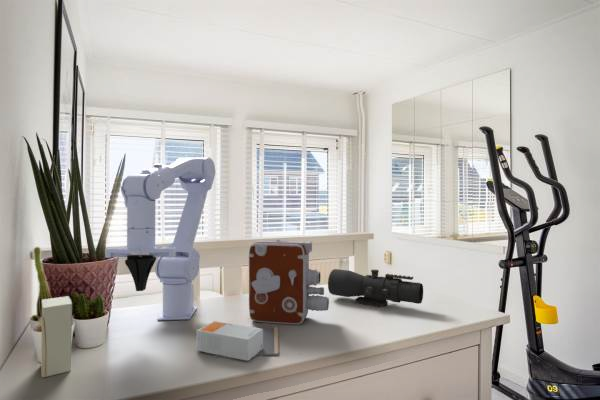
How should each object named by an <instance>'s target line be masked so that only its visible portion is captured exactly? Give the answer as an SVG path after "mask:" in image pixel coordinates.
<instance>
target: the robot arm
mask: <svg viewBox="0 0 600 400" xmlns="http://www.w3.org/2000/svg"><path fill="white" fill-rule="evenodd" d="M215 176H216V166H215V162H214V161H213V159H212V158H211V157H209V156H206V157H185V158H184V157H179V158H176V159H175V161H174V162H172V163H171V164H169V165H166V164H163V163H154V164H153V167H152V168H150V169H147V168H146V169H143V170H142V171H141V172H140V173H138V174H137V173H135V174H133V173H132V174H129V175H128V176H126V177H125V178H124V179H123V181H122V185H121V186H120V191H121V194H122V196H123V199H124V206H125V208H126V213H127V214H126V247H108V248H105V249H104V258H107V259H109V258H126V259H125V260H124V264H125V266H126V267H127V269H128V270H129V272H130V274H131V277H132V279H133V283H134V286H135V287H134V288H135V292H144V291H145V290H147V283H148V281H149V276H150V274H151V271H152V268H153V266H154V271H155V276H156V277H157V278H158V279H159V282H160V283H162V313H161V314H160V315H159V316H158V317H157V321H172V320H173V321H174V320H176V321H177V320H190V319H191V318H192V316H193V315H194V313H195V312H196V311H197V309H198V306H195V305H194V300H195V299H194V294H195V293H194V284H193V281H194V280H195V279H196V278H197V276H198V274H199V271H200V259H201V258H200V257H201V256H200V253H199V252H198V250H196V248H195V247H193V246H194V244H195V239H196V236H197V232H198V229H199V227H200V226H199V224H200V221H201V218H202V213H203V211H204V207H205V204H206V203H205V202H206V199H207V195H208V192H209V191H210V190H212V186H213V184H214V181H215ZM176 179H178V180H179V182H180V183H179V184H180V185H181V188H182V190H184V191H186V192H187V196H186V199H185V202H184V203H185V204H184V206H183V209H182V213H181V215H180V220H179V223H178V226H177V229H176V232H175V236H174V238H173V242H172V243H170V244H168V245H167V246H166V247H163V246H156V200H159V198H160V196H161V195H162V192H163V191H164V190H167V189H168V188H170V187H172V186H173V184H174V183H175V181H176ZM154 264H155V265H154Z"/></svg>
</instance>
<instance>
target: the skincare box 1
mask: <svg viewBox="0 0 600 400" xmlns="http://www.w3.org/2000/svg"><path fill="white" fill-rule="evenodd" d="M72 325H73V301H72V298H71V297H70V296H69V295H66V296H59V297H51V298H43V299H41V340H40V341H41V342H40V343H41V347H40V349H41V350H40V353H41V354H40V366H41V367H40V369H41V370H40V372H41V378H47V377H52V376H56V375H59V374H65V373H69V372H71V371H72V333H73V332H72V331H73V329H72V328H73V326H72Z"/></svg>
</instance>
